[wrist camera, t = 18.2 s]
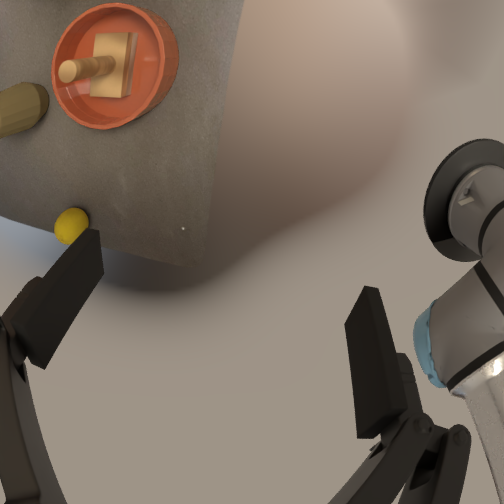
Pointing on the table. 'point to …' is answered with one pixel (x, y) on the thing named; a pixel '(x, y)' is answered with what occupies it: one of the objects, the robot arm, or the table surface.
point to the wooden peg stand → (105, 65)
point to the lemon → (70, 225)
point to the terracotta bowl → (144, 73)
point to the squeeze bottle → (21, 107)
